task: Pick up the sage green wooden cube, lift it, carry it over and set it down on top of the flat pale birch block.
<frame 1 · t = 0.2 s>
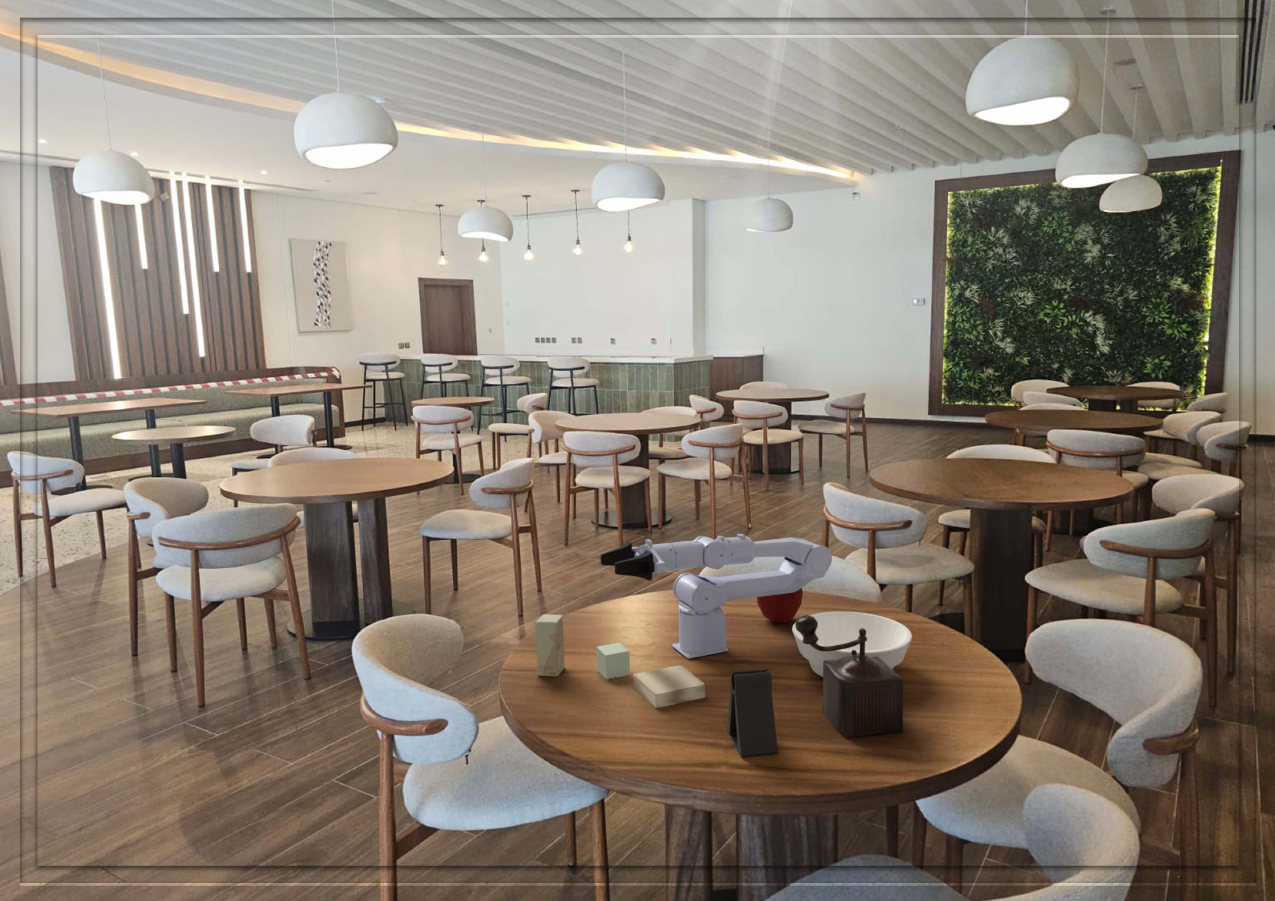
hand: (607, 564, 160), 21 cm above the table, tool horizontal, fingers open, 7 cm apart
sage cube: (613, 672, 160), on the table
bowl: (850, 672, 158), on the table
apple: (778, 621, 187), on the table
manual coffee grinder: (846, 723, 137), on the table
phone stand: (751, 743, 131), on the table
box: (551, 672, 161), on the table
birch block: (668, 694, 151), on the table
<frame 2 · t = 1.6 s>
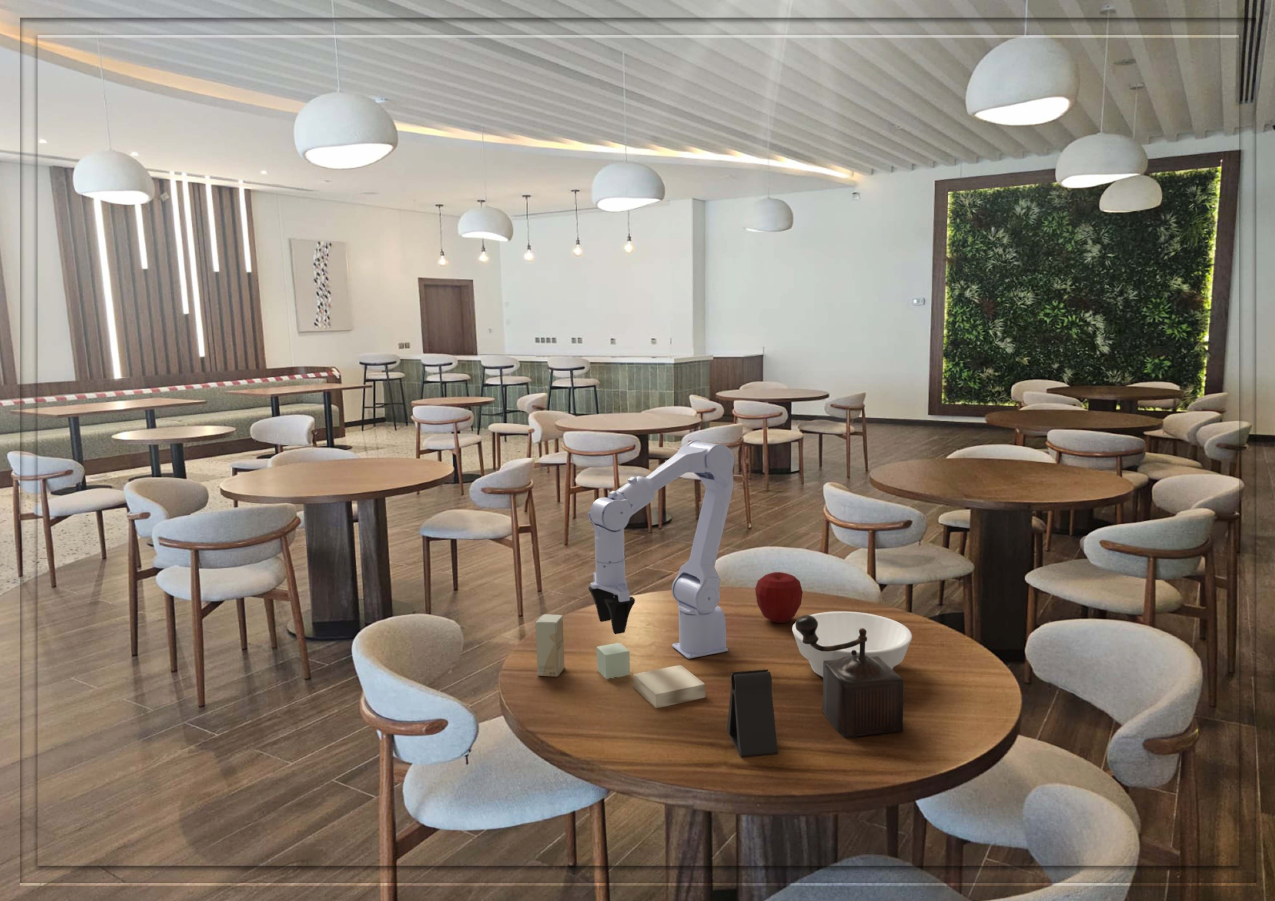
hand: (612, 626, 159), 9 cm above the table, tool pointing down, fingers open, 7 cm apart
nothing on the table moved.
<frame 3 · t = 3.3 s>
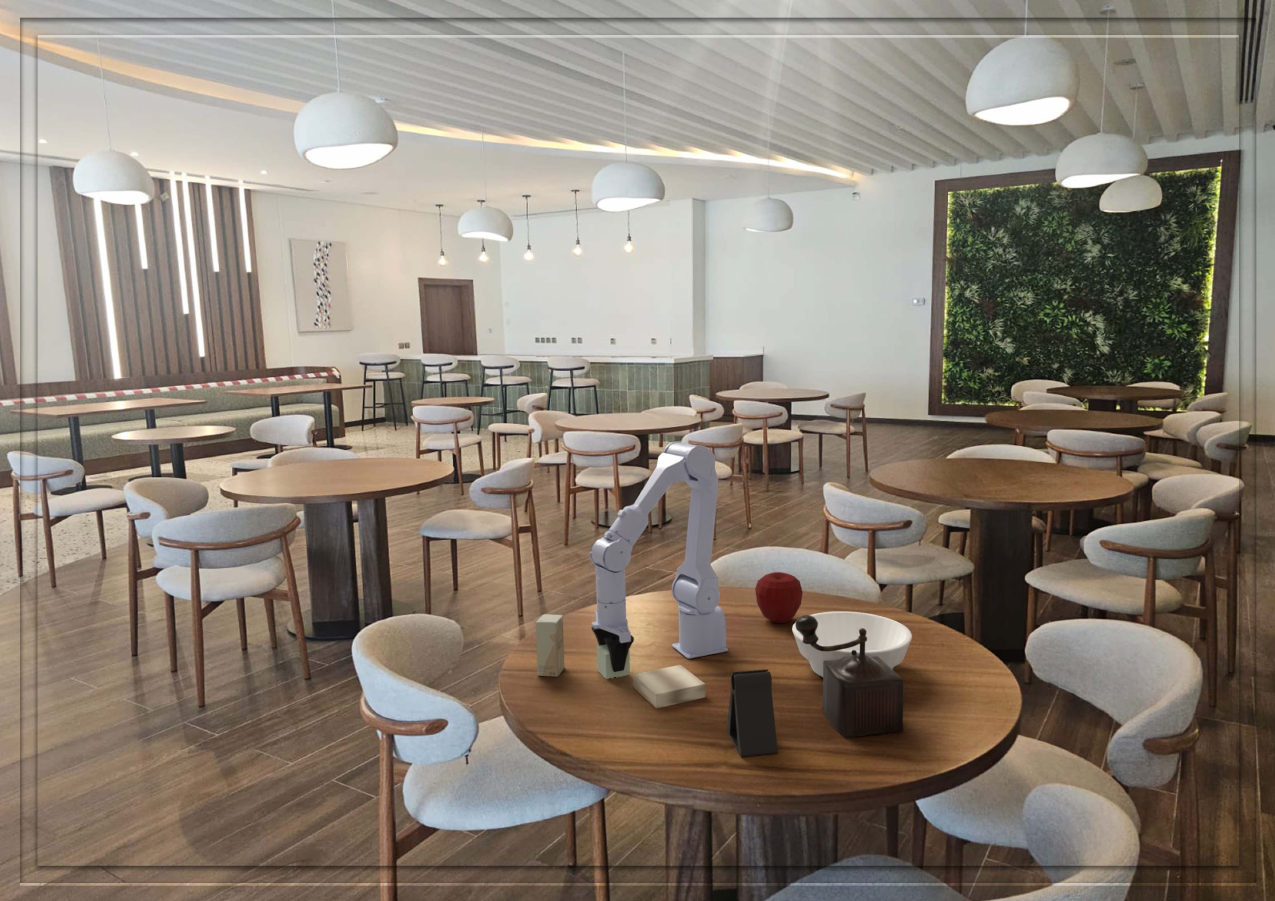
hand: (613, 665, 160), 1 cm above the table, tool pointing down, fingers closed on sage cube, 5 cm apart
sage cube: (613, 672, 160), on the table, touching gripper
everything else where it was.
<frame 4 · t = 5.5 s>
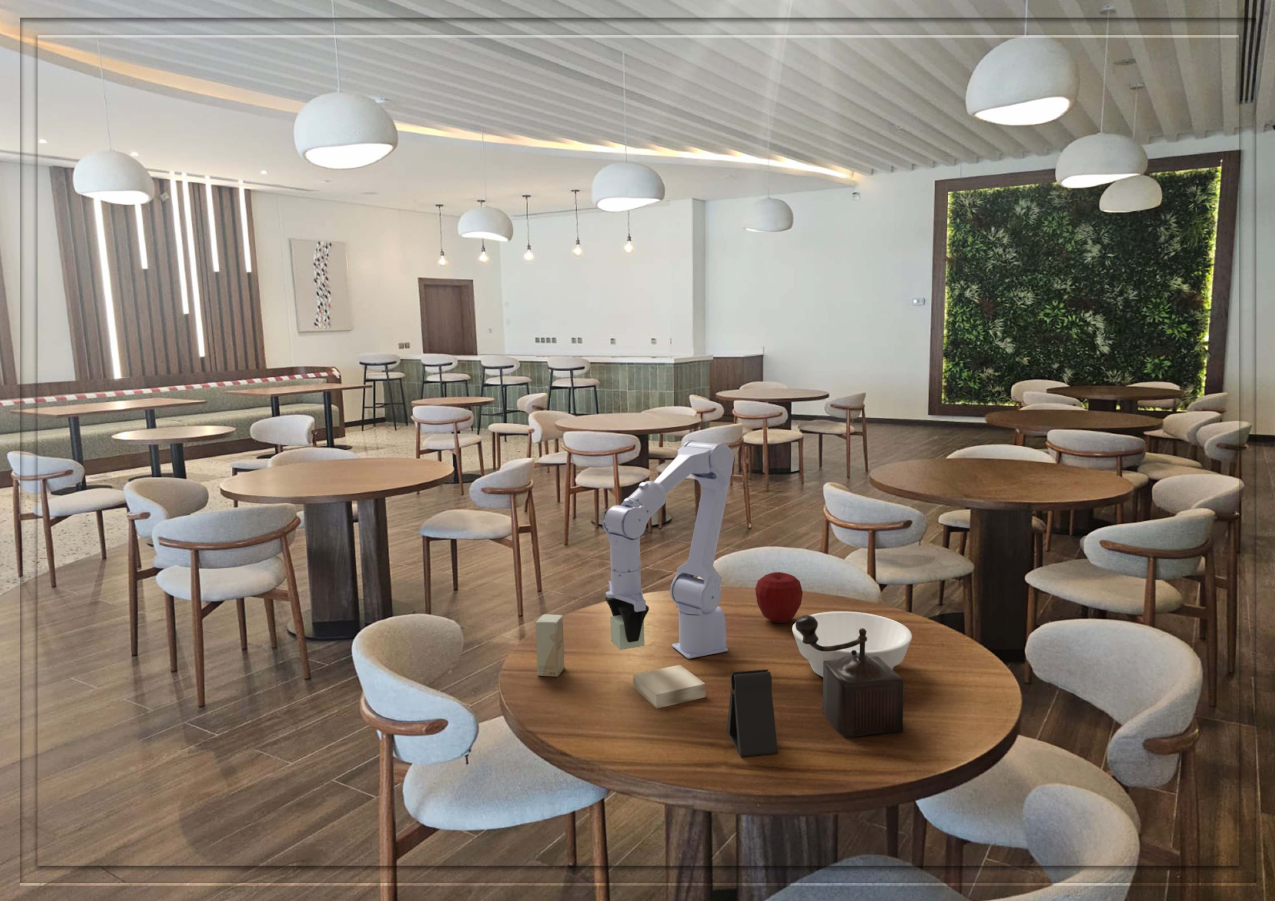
hand: (627, 636, 156), 8 cm above the table, tool pointing down, fingers closed on sage cube, 5 cm apart
sage cube: (627, 643, 156), point 7 cm above the table, touching gripper
everything else where it was.
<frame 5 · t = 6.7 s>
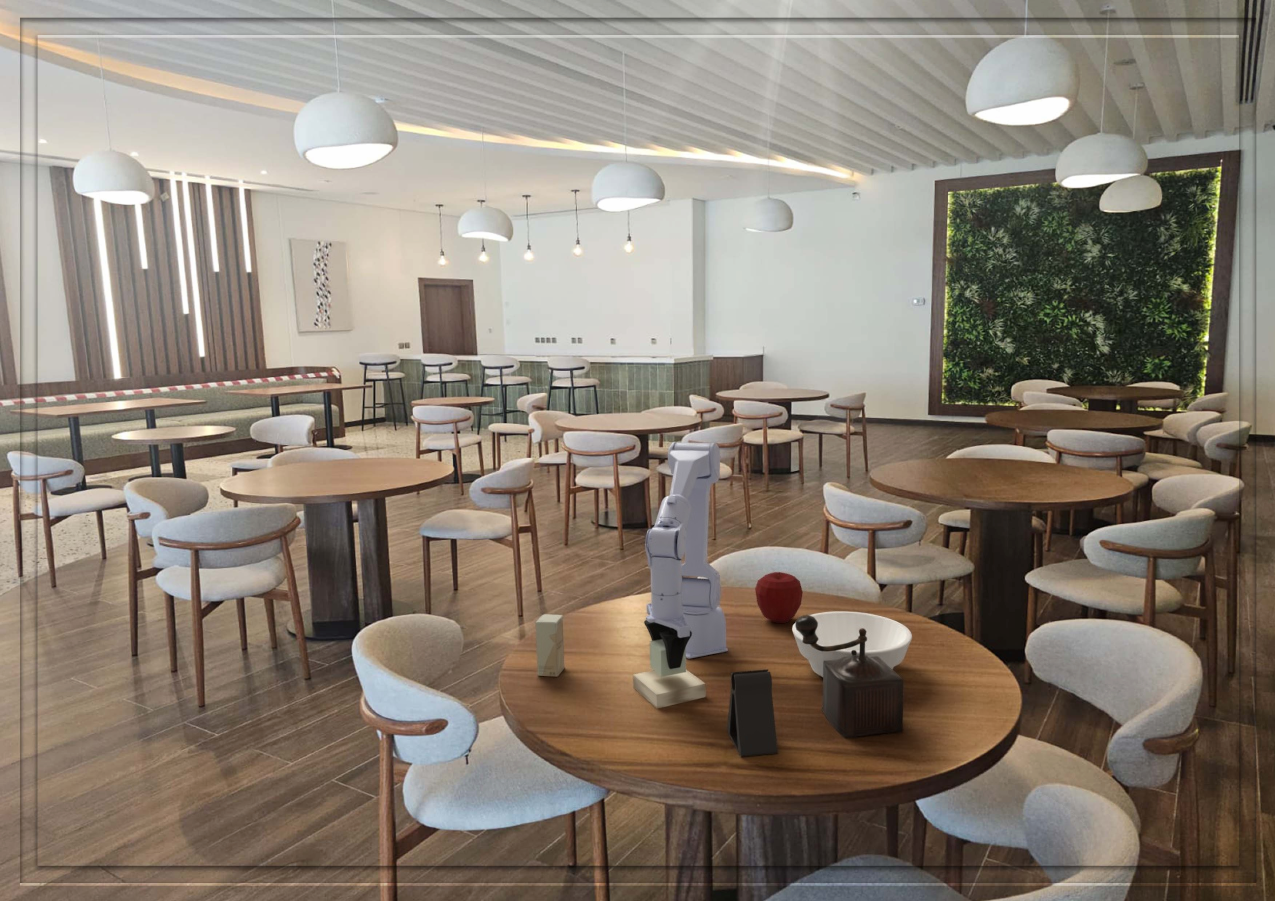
hand: (668, 662, 150), 6 cm above the table, tool pointing down, fingers closed on sage cube, 5 cm apart
sage cube: (668, 669, 150), point 4 cm above the table, touching gripper
everything else where it was.
when the fingers open (5 cm above the table, at t = 7.7 s): sage cube drops 2 cm, resting on birch block.
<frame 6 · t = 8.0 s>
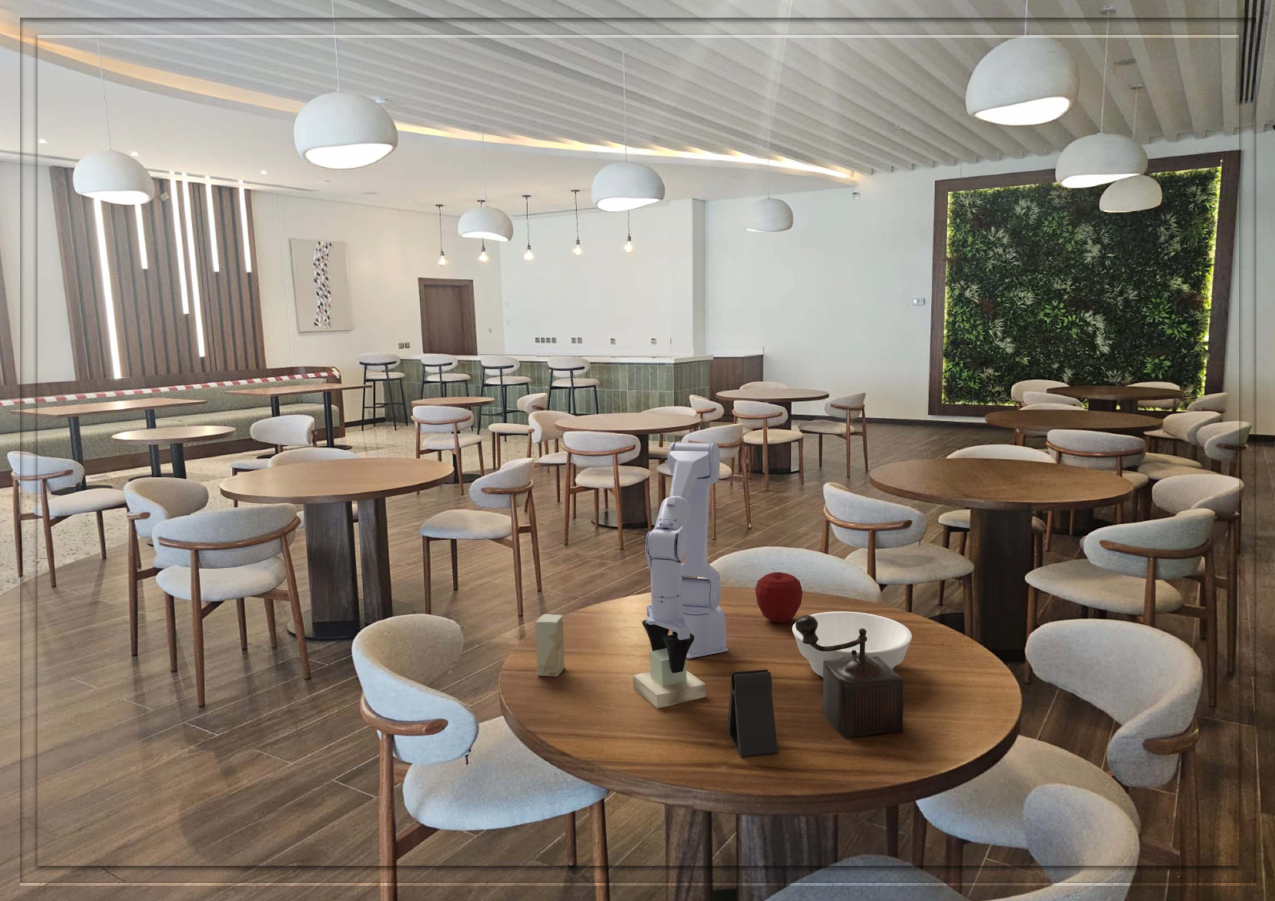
hand: (668, 664, 150), 5 cm above the table, tool pointing down, fingers open, 7 cm apart
sage cube: (668, 679, 150), point 2 cm above the table, touching birch block
birch block: (668, 694, 151), on the table, touching sage cube
everything else where it was.
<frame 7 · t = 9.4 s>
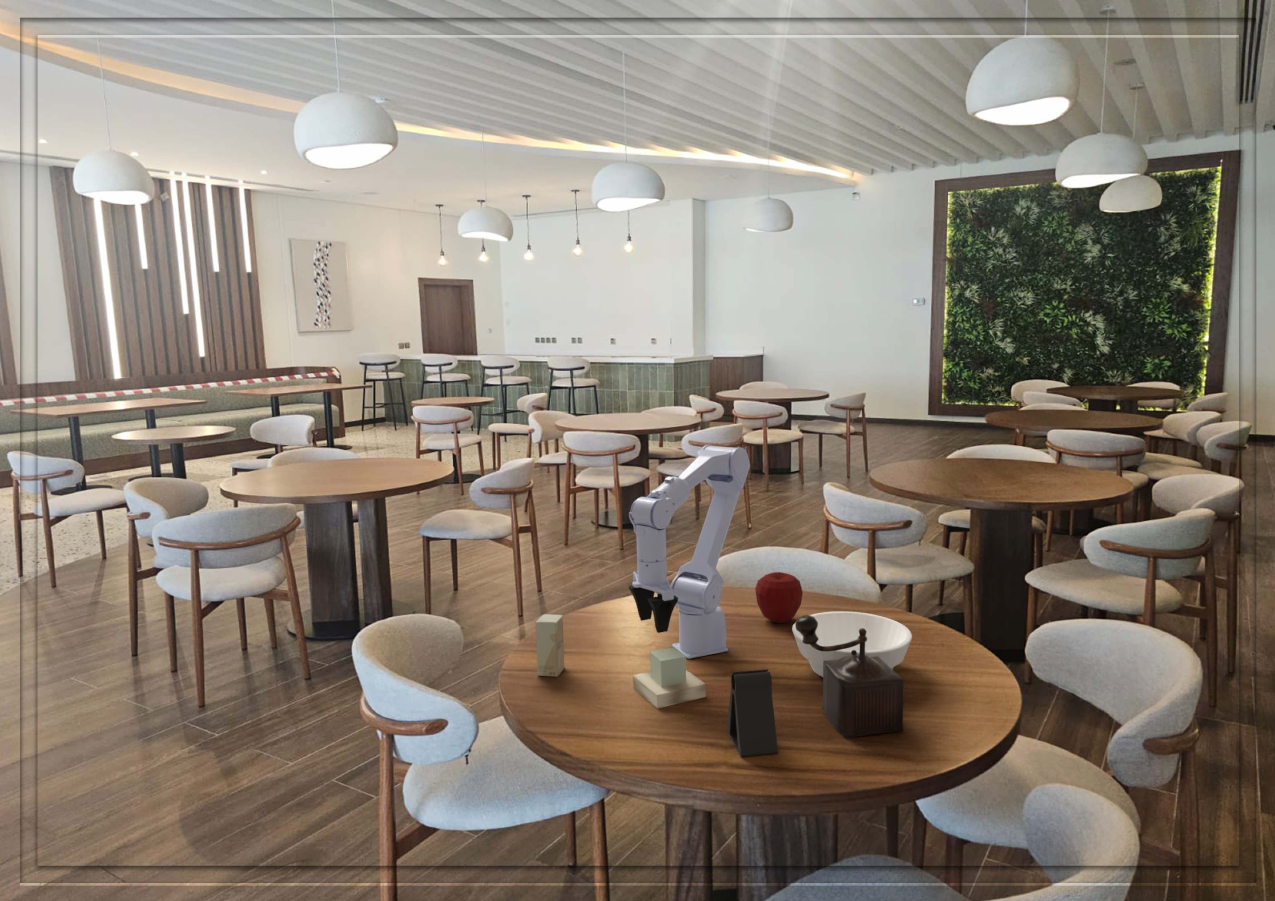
hand: (653, 625, 159), 9 cm above the table, tool pointing down, fingers open, 7 cm apart
nothing on the table moved.
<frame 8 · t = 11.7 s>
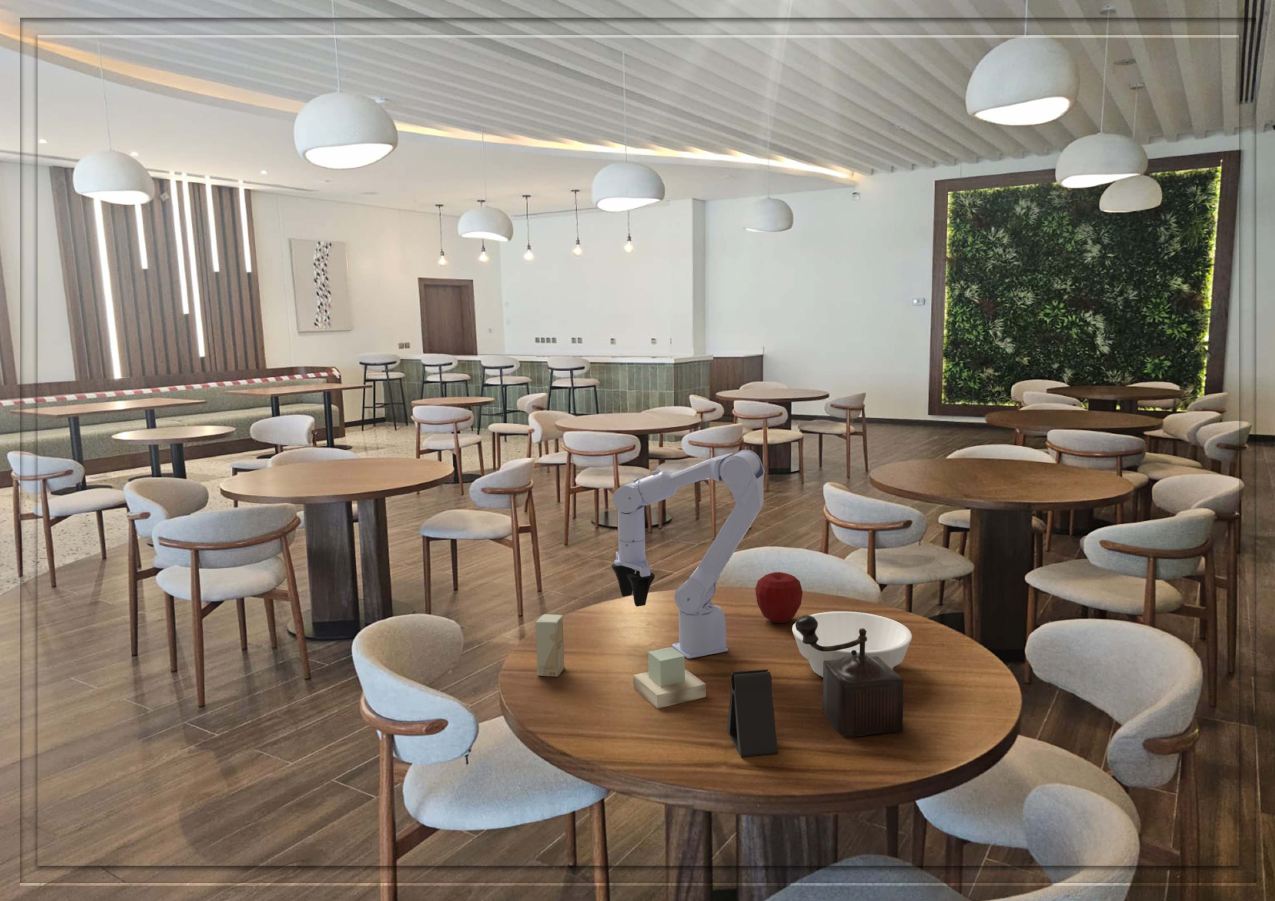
hand: (633, 600, 175), 9 cm above the table, tool pointing down, fingers open, 7 cm apart
sage cube: (666, 679, 150), point 2 cm above the table
birch block: (669, 694, 151), on the table
everything else where it was.
at the end: sage cube 0.4 cm off-centre on the birch block, point 3.0 cm above the birch block's base; sage cube tilted 0°; the gripper is holding nothing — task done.
